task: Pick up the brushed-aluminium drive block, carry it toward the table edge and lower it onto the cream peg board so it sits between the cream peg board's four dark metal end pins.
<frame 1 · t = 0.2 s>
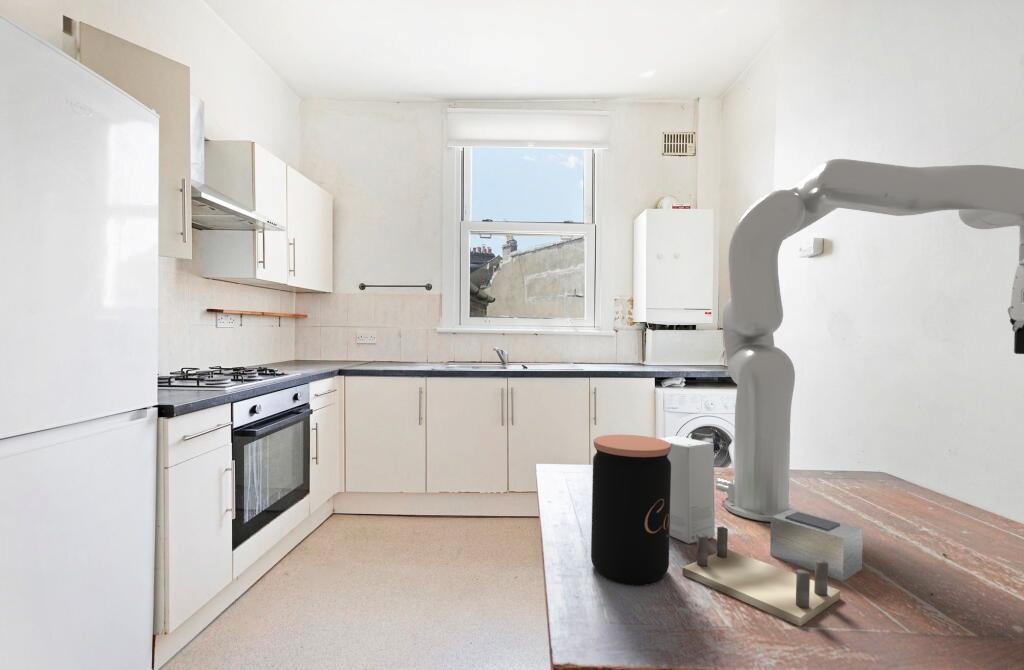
skincare box: (681, 534, 87), on the table
coffee jar: (629, 571, 73), on the table
cream peg board: (758, 585, 69), on the table
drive: (814, 562, 77), on the table
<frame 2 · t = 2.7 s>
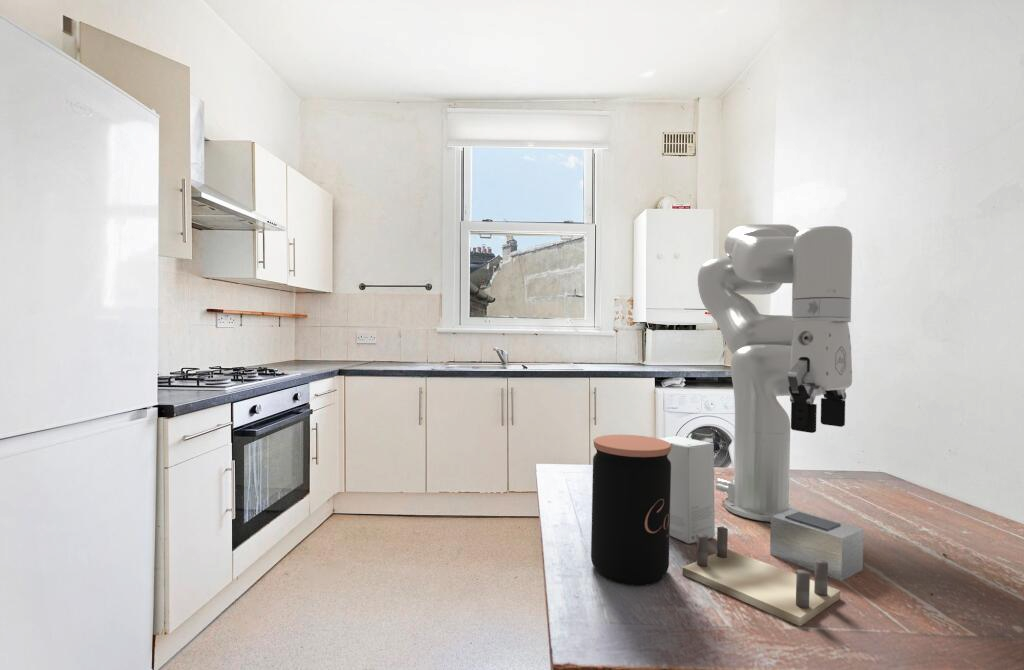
hand: (818, 428, 77), 20 cm above the table, tool pointing down, fingers open, 9 cm apart
nothing on the table moved.
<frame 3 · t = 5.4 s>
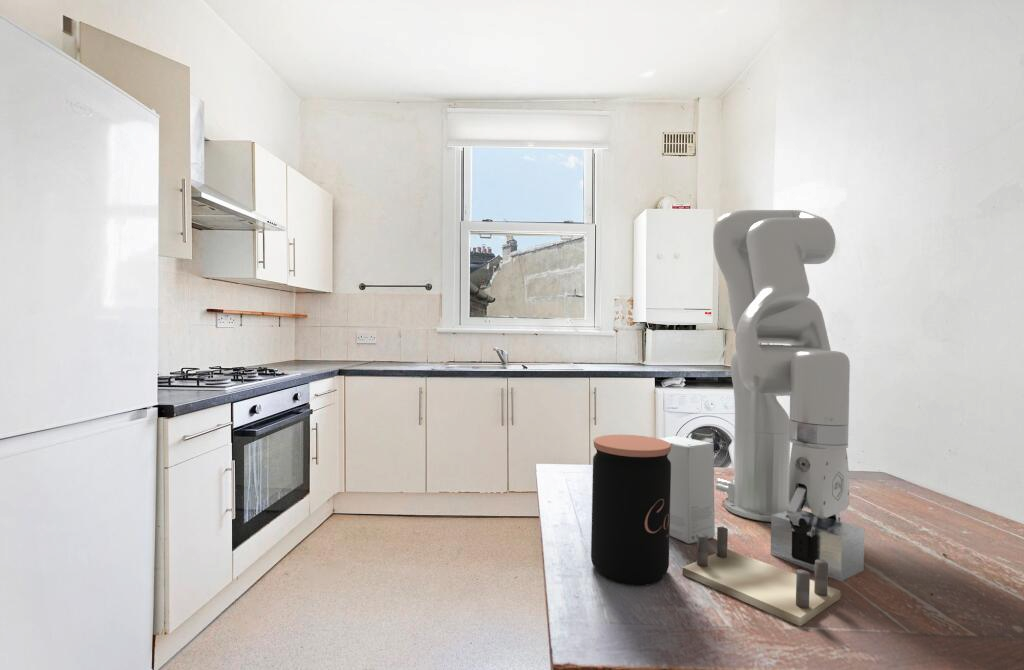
hand: (815, 553, 77), 1 cm above the table, tool pointing down, fingers closed on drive, 6 cm apart
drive: (815, 562, 77), on the table, touching gripper
everything else where it was.
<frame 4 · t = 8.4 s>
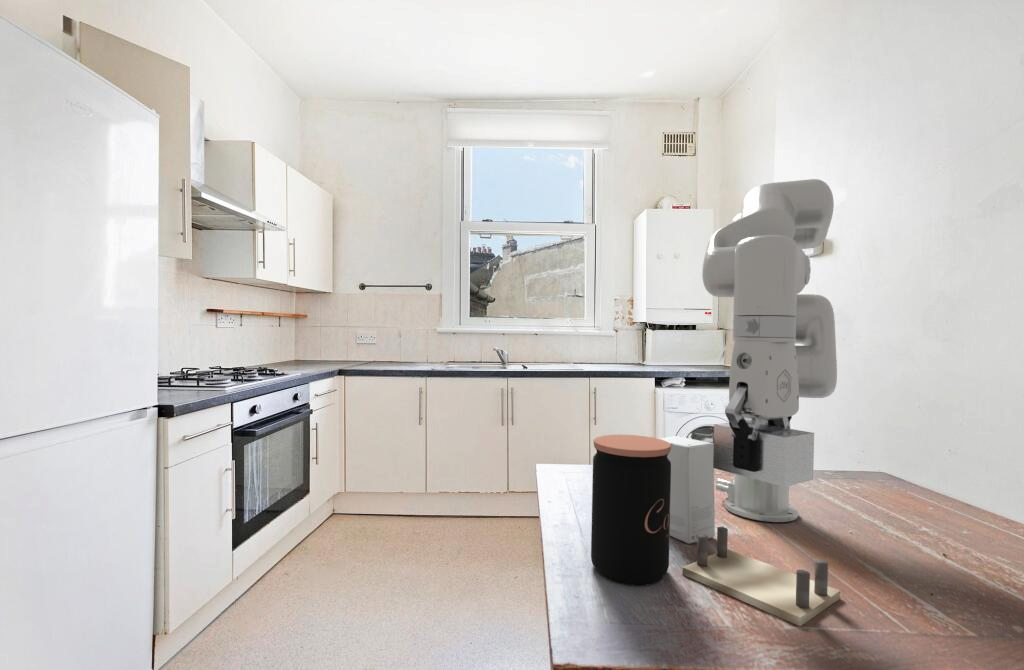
hand: (760, 464, 69), 16 cm above the table, tool pointing down, fingers closed on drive, 6 cm apart
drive: (761, 473, 69), point 15 cm above the table, touching gripper
everything else where it was.
when the fingers open (3 cm above the table, at t = 11.4 s): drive drops 1 cm, resting on cream peg board.
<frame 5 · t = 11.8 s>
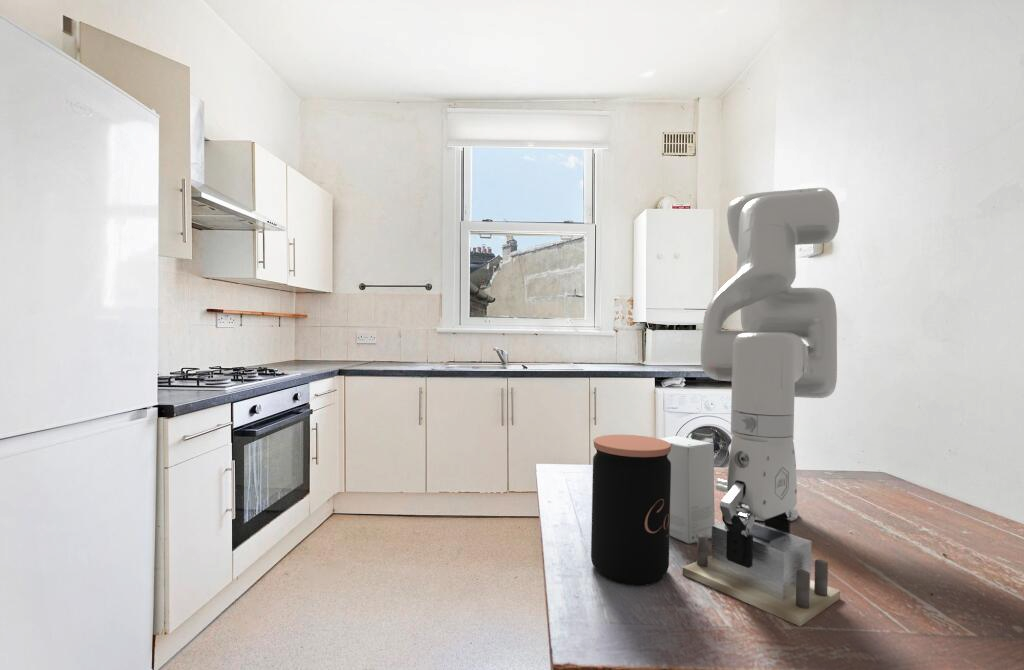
hand: (758, 554, 69), 4 cm above the table, tool pointing down, fingers open, 9 cm apart
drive: (759, 578, 69), point 1 cm above the table, touching cream peg board
everything else where it was.
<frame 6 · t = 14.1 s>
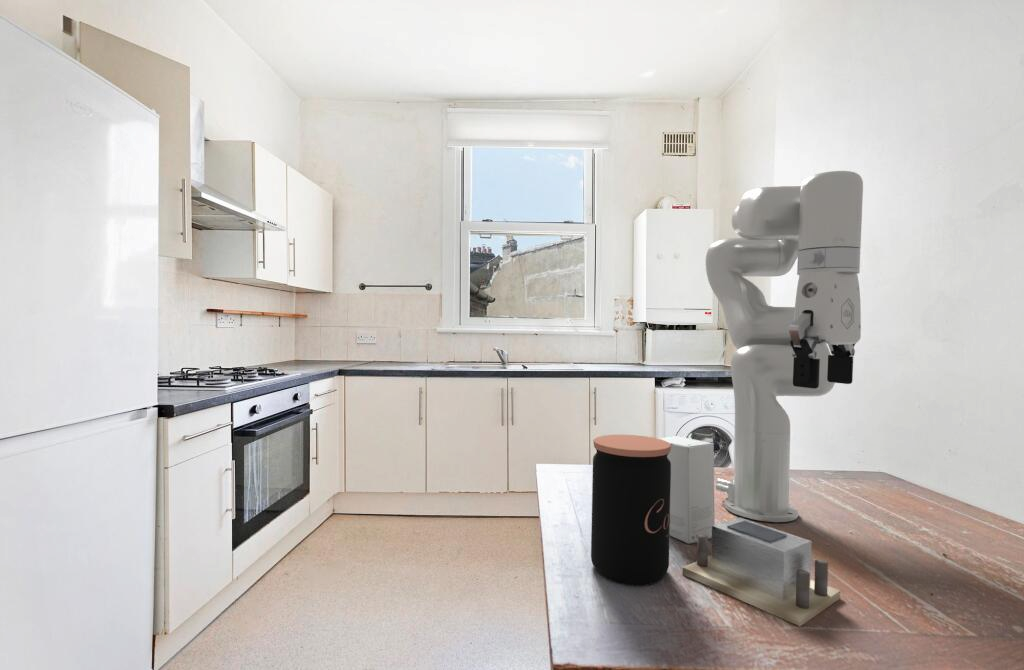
hand: (823, 384, 74), 26 cm above the table, tool pointing down, fingers open, 9 cm apart
nothing on the table moved.
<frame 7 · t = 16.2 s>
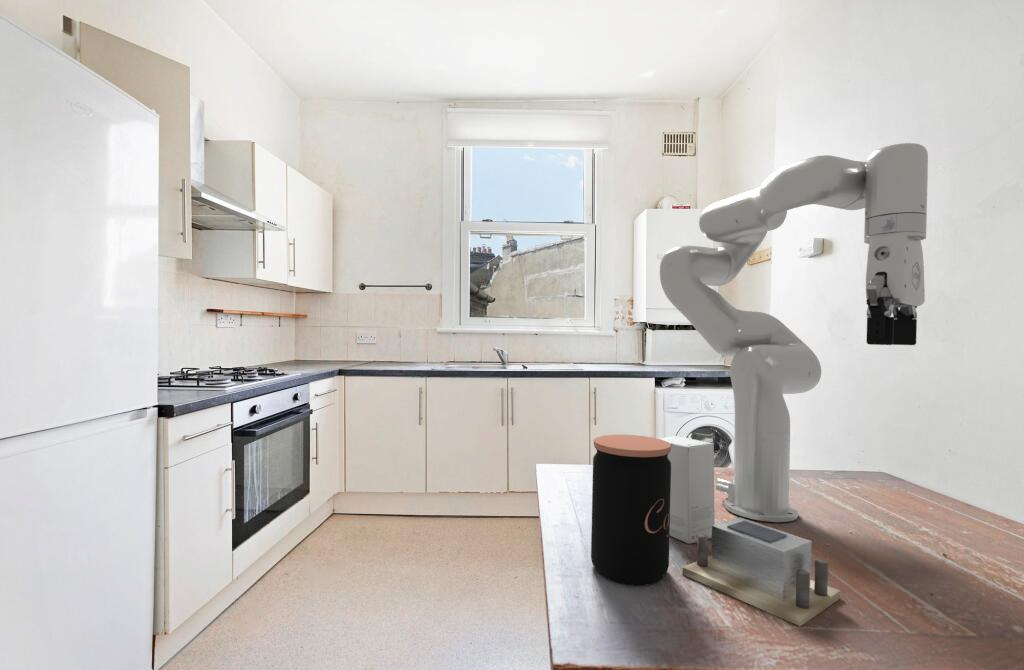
hand: (891, 344, 78), 32 cm above the table, tool pointing down, fingers open, 9 cm apart
nothing on the table moved.
at the end: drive 0.1 cm off-centre on the cream peg board, point 1.0 cm above the cream peg board's base; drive tilted 0°; the gripper is holding nothing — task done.
